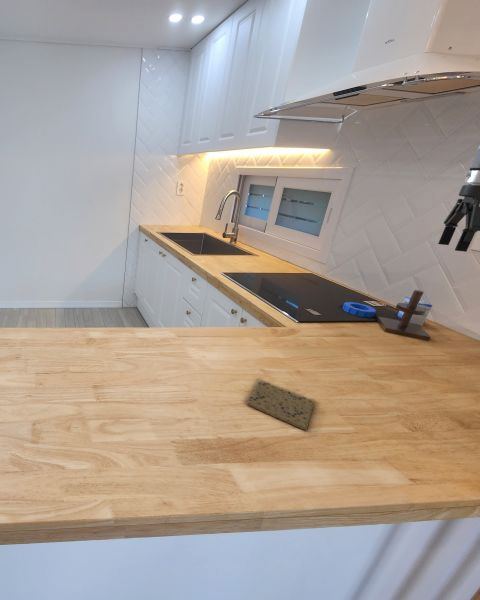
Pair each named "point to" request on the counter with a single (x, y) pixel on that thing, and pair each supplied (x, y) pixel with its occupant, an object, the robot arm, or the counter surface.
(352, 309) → the blue plastic ring
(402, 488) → the counter surface
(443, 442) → the counter surface
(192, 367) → the counter surface
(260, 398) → the cookie
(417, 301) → the stand
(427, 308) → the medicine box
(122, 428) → the counter surface
